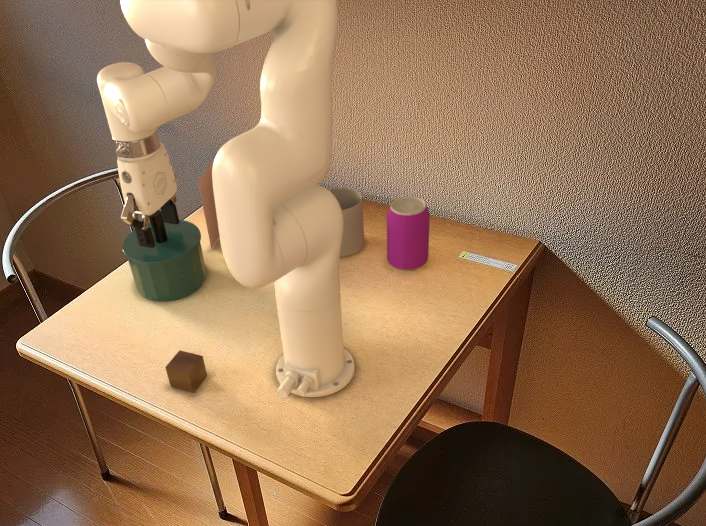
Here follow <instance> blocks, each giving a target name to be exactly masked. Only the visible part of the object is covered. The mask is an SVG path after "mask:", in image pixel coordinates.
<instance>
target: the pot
mask: <svg viewBox="0 0 706 526" xmlns="http://www.w3.org/2000/svg"><path fill="white" fill-rule="evenodd" d="M127 261H128V265H129V268H130V271H131V275H132V278H133V281H134V286H135V288H136V291H137V293H138V294H139V295H140V296H141V297H142V298H144V299H147V300H149V301H153V302H172V301H177V300H182V299H184V298H187V297H189V296H190V295H192V294H194V293H196V292H197V291H199V290H200V289H201V288H202V287H203V285H204V284H205V283H206V280H207V268H206V263H205V257H204V254H203V248H202V244H201V242H200V243H199V245H198V246H197V247H196V248H195V249H194V250H193V251H192V252H191V253H189V254H188V255H186V256H184V257H182V258H180V259H178V260H175V261H172V262H168V263H163V264H152V265H149V264H140V263H136V262H133V261H131V260H129V259H128V258H127Z"/></svg>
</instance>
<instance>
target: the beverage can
mask: <svg viewBox="0 0 706 526" xmlns="http://www.w3.org/2000/svg"><path fill="white" fill-rule="evenodd" d="M430 217H431V213H430V211H429V208H428V206H427V203H426V201H425V200H424V199H423V198H421V197H419V196H416V195H415V196H414V195H404V196H400V197H397V198H395V199H394V200H392V201H391V203H390V206H389V209H388V211H387V213H386V259H387V262H388V264H389V265H390V266H392V268H394V269H396V270H398V271H403V272H411V271H415V270H418V269H420V268H421V267H423V266H424V265H426V264H427V262H428V260H429V249H430V248H429V244H430V222H431V220H430Z"/></svg>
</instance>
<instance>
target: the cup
mask: <svg viewBox="0 0 706 526" xmlns="http://www.w3.org/2000/svg"><path fill="white" fill-rule="evenodd" d="M328 190H329V191H330V192H331V193H332V194H333V195H334V196H335V198H336V199H337V201H338V202H339V204H340V207H341V210H342V214H343V222H344V227H343V238H342V244H341V250H340V257H348V256H353V255H356V254H358V253H359V252H360V251H362V249H363V247H364V245H365V232H364V231H365V230H364V202H363V201H364V200H363V196H362V193H361V192H359V191H357V190H355V189H353V188H347V187H340V188H333V189H328Z"/></svg>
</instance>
